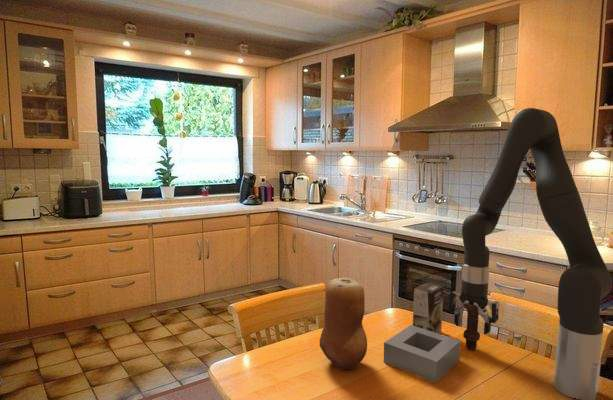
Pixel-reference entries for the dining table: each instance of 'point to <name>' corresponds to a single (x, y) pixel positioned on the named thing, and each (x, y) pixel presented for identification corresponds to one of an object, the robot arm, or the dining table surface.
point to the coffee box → (428, 307)
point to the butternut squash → (344, 323)
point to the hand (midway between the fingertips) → (471, 329)
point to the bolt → (471, 327)
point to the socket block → (422, 352)
